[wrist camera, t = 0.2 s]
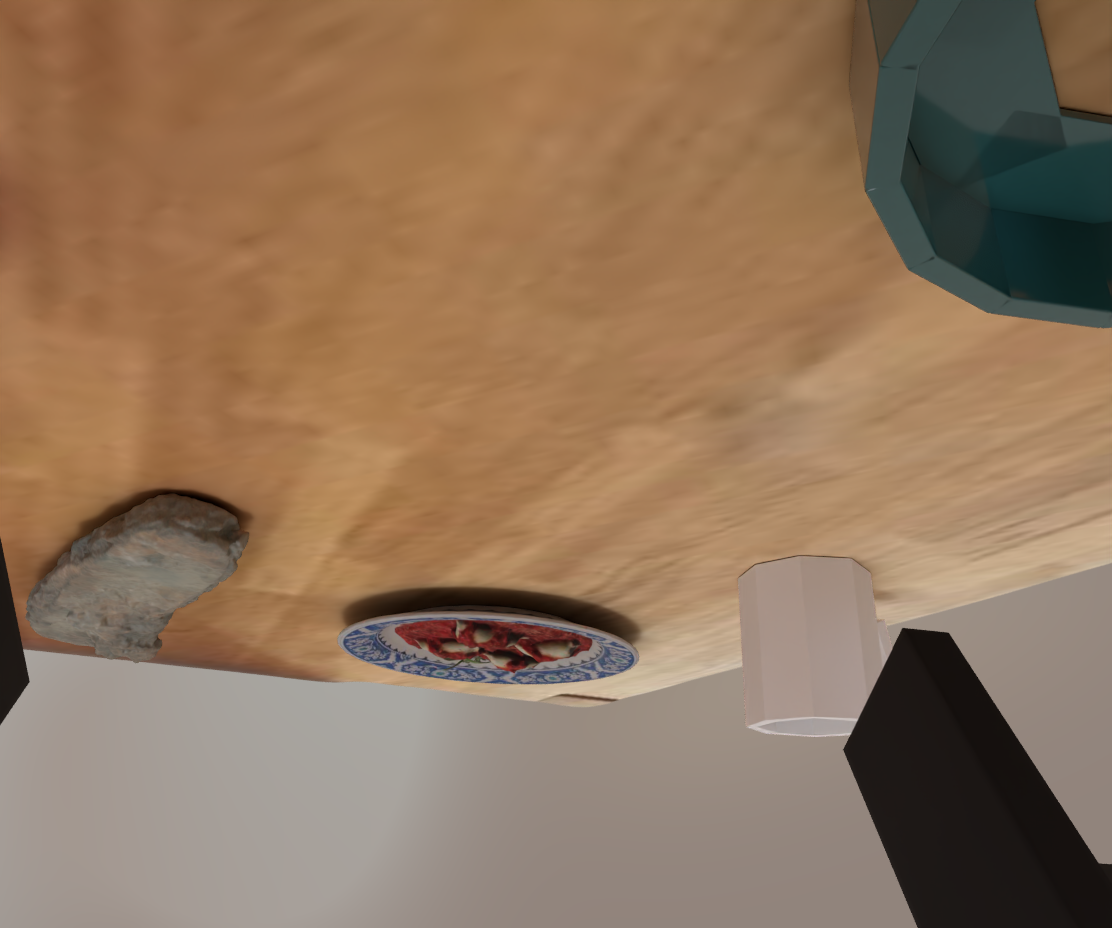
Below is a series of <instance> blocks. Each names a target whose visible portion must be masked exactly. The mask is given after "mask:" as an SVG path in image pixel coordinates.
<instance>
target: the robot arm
mask: <svg viewBox="0 0 1112 928" xmlns="http://www.w3.org/2000/svg"><path fill="white" fill-rule="evenodd" d="M28 683H29V676H28V672H27V667H26V662H25V657H24V652H23V647H22V642H21V637H20V632H19V627H18V622H17V617H16V612H15V607H14V603H13V598H12V593H11V588H10V583H9V578H8V573H7V568H6V563H5V558H4V553H3V548H2V543H1V539H0V725H1V723H2V722H3V720H4V719H5V717H6V716H7V714H8V713H9V711H10V710H11V708H12V707H13V705H14V704H15V702H16V701H17V699H18V698H19V697H20V695H21V693H22V692H23V691H24V689H25V688H26V686H27V685H28ZM843 750H844V753H845V755H846V757H847V760H848V762H849V765H850V767H851V770H852V772H853V774H854V777H855V779H856V781H857V784H858V786H859V789H860V791H861V793H862V796H863V798H864V801H865V803H866V805H867V808H868V810H869V812H870V815H871V817H872V820H873V822H874V824H875V827H876V829H877V832H878V834H879V836H880V839H881V841H882V844H883V846H884V848H885V851H886V853H887V856H888V858H889V860H890V863H891V865H892V867H893V869H894V872H895V874H896V877H897V879H898V882H899V884H900V887H901V889H902V891H903V894H904V896H905V898H906V901H907V903H908V906H909V908H910V910H911V913H912V915H913V917H914V920H915V922H916V925H917V927H918V928H1112V864H1099V863H1098V862H1097V860H1096V859H1095V857H1094V856H1093V854H1092V853H1091V851H1090V849H1089V848H1088V846H1087V845H1086V844H1085V842H1084V840H1083V839H1082V837H1081V836H1080V834H1079V833H1078V831H1077V830H1076V828H1075V827H1074V825H1073V823H1072V822H1071V820H1070V819H1069V817H1068V816H1067V814H1066V813H1065V811H1064V810H1063V808H1062V806H1061V805H1060V803H1059V802H1058V800H1057V799H1056V797H1055V796H1054V794H1053V793H1052V791H1051V790H1050V788H1049V787H1048V785H1047V783H1046V782H1045V780H1044V779H1043V777H1042V776H1041V774H1040V773H1039V771H1038V770H1037V768H1036V766H1035V765H1034V763H1033V762H1032V760H1031V759H1030V757H1029V756H1028V754H1027V753H1026V751H1025V750H1024V748H1023V746H1022V745H1021V744H1020V742H1019V740H1018V739H1017V738H1016V736H1015V734H1014V733H1013V731H1012V730H1011V728H1010V726H1009V725H1008V723H1007V722H1006V720H1005V719H1004V717H1003V716H1002V715H1001V713H1000V711H999V710H998V708H997V707H996V705H995V703H994V702H993V700H992V699H991V697H990V696H989V694H988V693H987V691H986V690H985V688H984V686H983V685H982V683H981V682H980V680H979V679H978V677H977V676H976V674H975V673H974V671H973V670H972V668H971V667H970V665H969V663H968V662H967V661H966V659H965V657H964V656H963V654H962V653H961V651H960V650H959V648H958V646H957V645H956V643H955V642H954V640H953V639H952V637H951V636H950V634H949V633H946V632H937V631H927V630H917V629H908V628H902V630H901V632H900V634H899V636H898V638H897V640H896V642H895V644H894V646H893V649H892V651H891V653H890V655H889V657H888V659H887V661H886V663H885V665H884V667H883V669H882V671H881V673H880V675H879V677H878V679H877V681H876V683H875V686H874V688H873V690H872V692H871V694H870V696H869V698H868V700H867V702H866V704H865V706H864V708H863V710H862V712H861V714H860V716H859V718H858V720H857V722H856V725H855V727H854V729H853V731H852V733H851V735H850V737H849V739H848V741H847V743H846V745H845V747H844V749H843Z"/></svg>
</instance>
